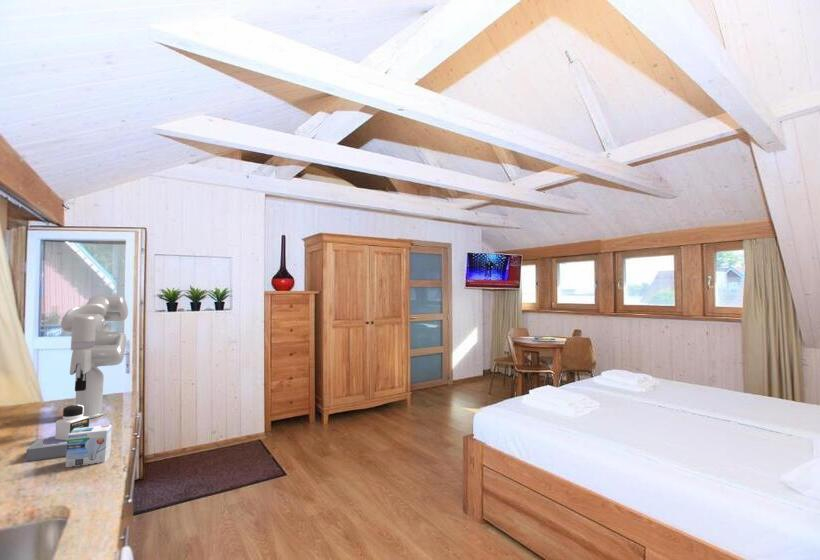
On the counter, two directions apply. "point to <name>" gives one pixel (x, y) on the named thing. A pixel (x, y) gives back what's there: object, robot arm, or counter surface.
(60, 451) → the bracket
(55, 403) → the counter surface
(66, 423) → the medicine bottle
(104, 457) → the light bulb box
